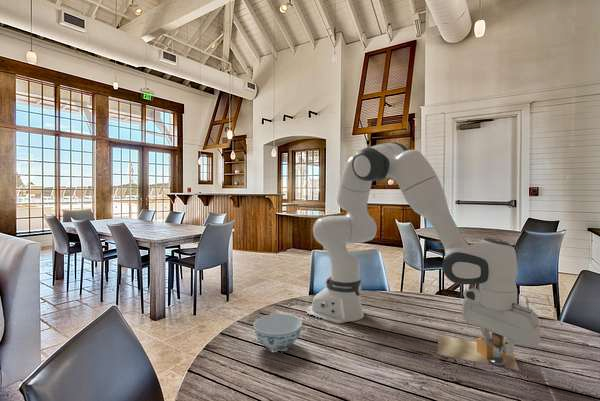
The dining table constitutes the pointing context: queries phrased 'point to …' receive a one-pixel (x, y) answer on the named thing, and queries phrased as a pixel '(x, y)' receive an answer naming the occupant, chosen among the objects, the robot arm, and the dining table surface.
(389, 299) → the dining table surface
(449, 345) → the panel
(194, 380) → the dining table surface
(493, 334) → the brown goblet
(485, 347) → the orange box
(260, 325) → the chinaware
